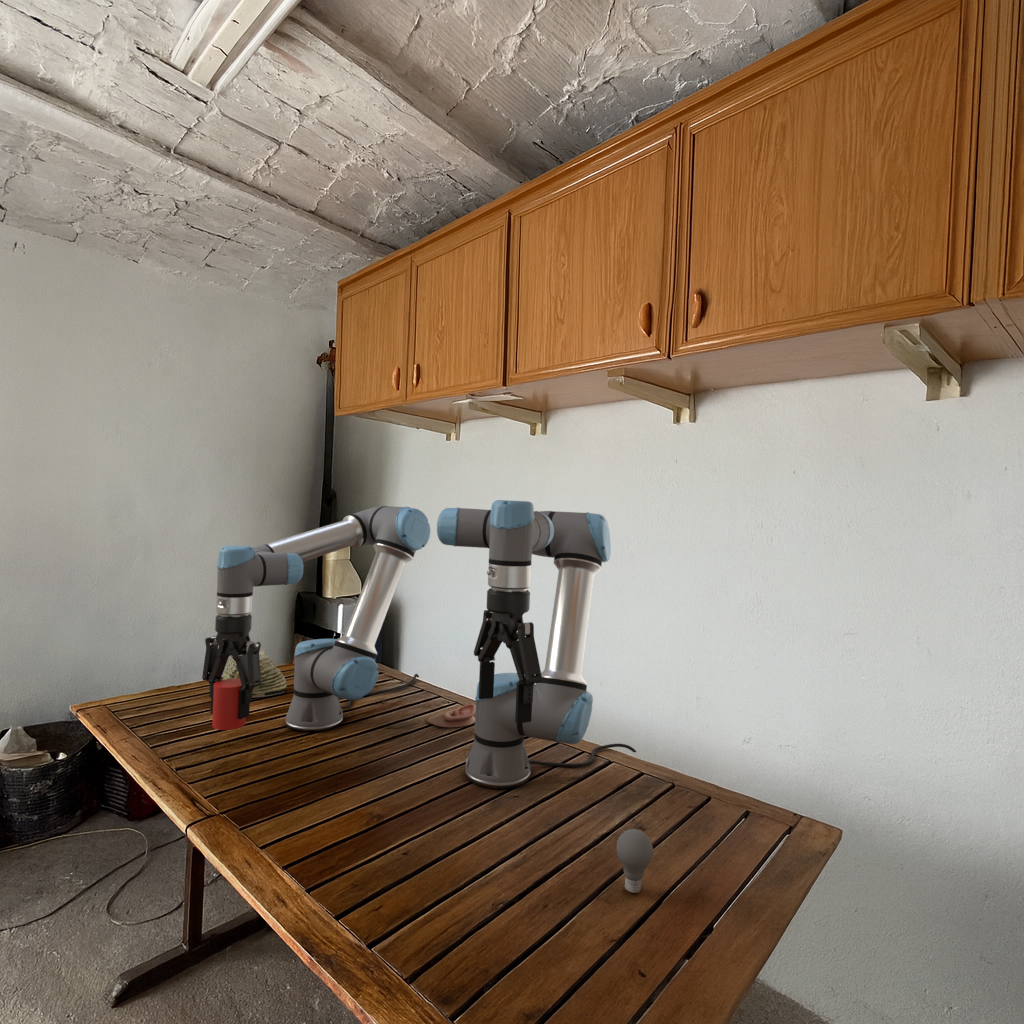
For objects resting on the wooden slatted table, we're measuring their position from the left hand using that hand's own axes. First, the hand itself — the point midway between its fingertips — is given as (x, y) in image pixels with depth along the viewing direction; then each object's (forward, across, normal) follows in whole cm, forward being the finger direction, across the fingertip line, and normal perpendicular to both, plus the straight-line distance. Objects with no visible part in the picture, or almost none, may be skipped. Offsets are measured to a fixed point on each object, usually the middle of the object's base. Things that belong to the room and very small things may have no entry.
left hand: (229, 714), depth 144 cm
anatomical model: (+13, +33, +51) cm, 62 cm away
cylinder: (+2, 0, 0) cm, 2 cm away
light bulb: (+13, +93, -9) cm, 94 cm away
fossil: (+13, -32, +46) cm, 58 cm away
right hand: (-15, +69, -11) cm, 72 cm away
